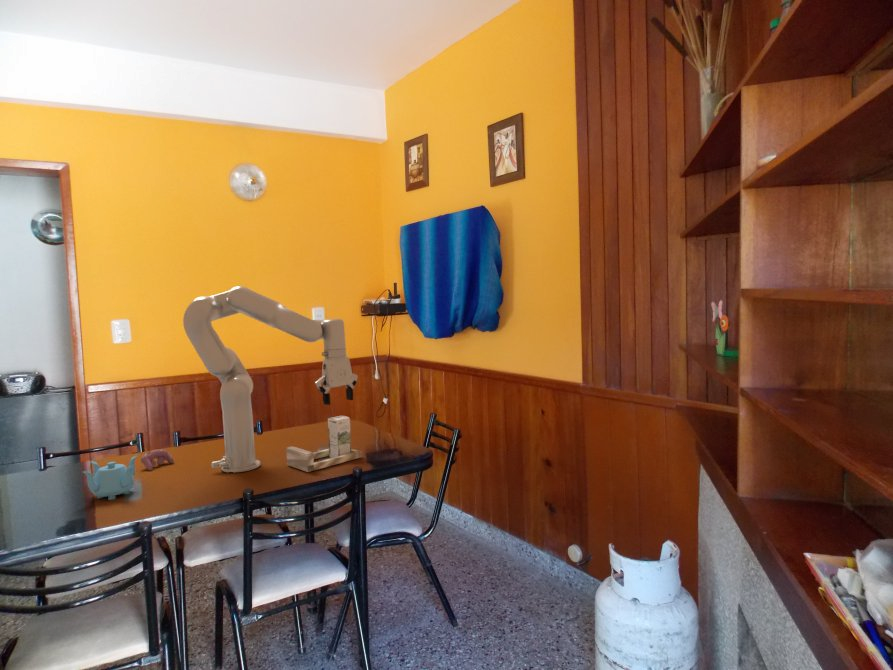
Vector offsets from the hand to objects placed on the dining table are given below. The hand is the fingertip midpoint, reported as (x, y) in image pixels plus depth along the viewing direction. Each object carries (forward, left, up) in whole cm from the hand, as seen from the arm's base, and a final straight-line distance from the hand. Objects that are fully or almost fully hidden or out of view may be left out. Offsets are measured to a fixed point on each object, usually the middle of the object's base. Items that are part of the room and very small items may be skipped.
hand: (338, 402), depth 202 cm
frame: (-7, 0, -20) cm, 21 cm away
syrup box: (0, 0, -20) cm, 20 cm away
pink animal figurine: (-47, +45, -20) cm, 68 cm away
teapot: (-67, +22, -20) cm, 73 cm away
